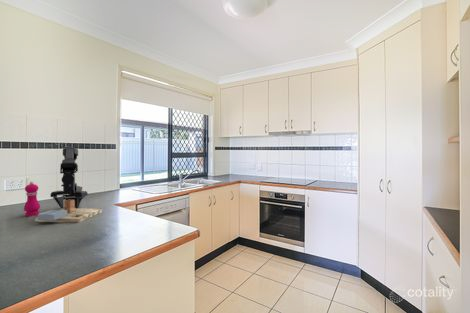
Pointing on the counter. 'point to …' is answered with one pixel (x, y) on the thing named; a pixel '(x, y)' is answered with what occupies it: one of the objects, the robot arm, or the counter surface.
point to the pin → (69, 205)
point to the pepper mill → (31, 200)
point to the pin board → (75, 216)
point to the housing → (52, 215)
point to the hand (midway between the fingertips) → (69, 208)
